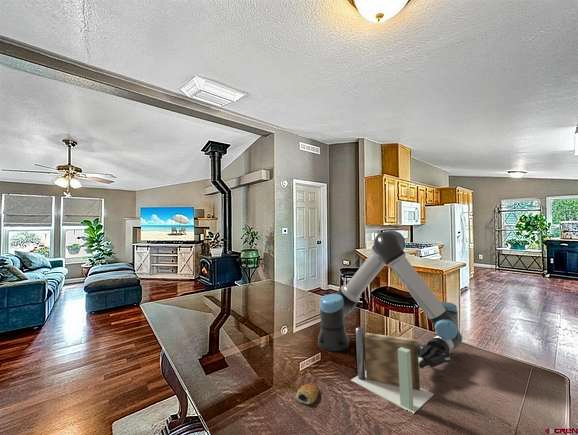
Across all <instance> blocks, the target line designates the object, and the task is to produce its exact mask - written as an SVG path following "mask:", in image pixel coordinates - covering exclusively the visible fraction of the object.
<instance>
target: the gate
mask: <svg viewBox="0 0 578 435" xmlns="http://www.w3.org/2000/svg"><path fill="white" fill-rule="evenodd" d="M363 336H364V356H365V371H366V376H367V379H370V380H374V381H379V382H384V383H389V384H394V385H398V386H400V385H399V367H398V349H399V348H401V347H403V348H406V349H408V350H410V354H411V372H412V388H413V389H418V390H420V388H421V382H420V380H421V379H420V369H419V362H418V345H419V344H418V339H416V338H415V339H414V338H408V337H403V336H402V337H401V336H393V335H384V334H379V333H373V332H372V333H371V332H364V333H363Z"/></svg>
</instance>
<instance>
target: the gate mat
mask: <svg viewBox="0 0 578 435" xmlns="http://www.w3.org/2000/svg"><path fill="white" fill-rule="evenodd" d="M365 378H366V379H365V380H360V379H358V375H357V376H355V377H353V378H351V379H350V381H351V382H353V383H354V384H357V385H358V386H360V387H362V388H364V389H365V390H367V391H369V392H371V393H373V394H375V395H377V396H379V397H380V398H383V399H384V400H386V401H388V402H390V403H392V404H394V405H395V406H398V407H399V408H401V409H403V410H405V411H407V410H408V411H407V412H409V411H410V412H412V413H413V414H412V413H411V414H412V415H414V413H415V412H416V411H417V410H418V411H419V410H420V409H421V408H422V407H423V406H424V405H425V404H427V402H428V401H429V400H430V399H431V398H432V397H433V396H434V394H435V393H432V392H430V391H428V390H426V389H424V388H422V387H420V390H418V389H413V388H412V390H413V407H412V408H411V409H410V410H409V409H407V408H405V407H403V406H401V404H400V386H398V385H394V384H389V383H384V382H379V381H374V380H370V379H367V376H366V370H365ZM418 411H417V412H418ZM410 412H409V413H410ZM417 412H416V413H417ZM416 413H415V414H416Z"/></svg>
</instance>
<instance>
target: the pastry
mask: <svg viewBox="0 0 578 435" xmlns="http://www.w3.org/2000/svg"><path fill="white" fill-rule="evenodd" d="M318 394H319V386H318V385H317V384H314V383H313V382H312V383H311V382H310V383H306V384H303V385H301V386H300V388H298V389H297V391H296V395H295V396H294V397H295V398H294V399H295V400H296V401H297V403H301V404H306V405H313V404H314V403H315V402H316V401H317V398H318Z"/></svg>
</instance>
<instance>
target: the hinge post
mask: <svg viewBox="0 0 578 435" xmlns="http://www.w3.org/2000/svg"><path fill="white" fill-rule="evenodd" d="M355 343H356V344H355V345H356V346H355V347H356V364H357V376H358V379H360V380H365V379H366V378H365V371H366V357H365V337H364V328H363V327H361V326H356V327H355Z"/></svg>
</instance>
